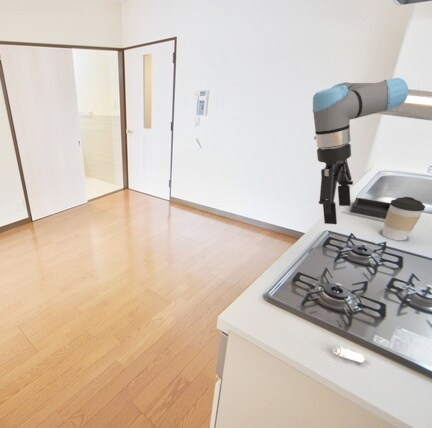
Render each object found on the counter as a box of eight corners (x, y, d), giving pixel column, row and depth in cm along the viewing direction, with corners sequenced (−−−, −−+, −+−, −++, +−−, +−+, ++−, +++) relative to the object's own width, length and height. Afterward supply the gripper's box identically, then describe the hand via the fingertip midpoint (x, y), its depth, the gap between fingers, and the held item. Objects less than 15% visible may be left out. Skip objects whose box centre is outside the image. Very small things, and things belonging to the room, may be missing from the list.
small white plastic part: (365, 373, 59) (370, 363, 58) (330, 357, 63) (334, 347, 62) (366, 361, 62) (370, 351, 60) (332, 346, 65) (336, 337, 64)
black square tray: (390, 209, 127) (392, 203, 126) (389, 219, 119) (392, 213, 118) (354, 203, 136) (356, 197, 134) (350, 212, 127) (353, 205, 126)
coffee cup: (410, 244, 101) (428, 206, 95) (377, 236, 107) (392, 201, 101) (410, 234, 107) (426, 198, 101) (378, 228, 113) (392, 193, 107)
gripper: (331, 136, 88) (335, 198, 94) (300, 160, 75) (308, 230, 81) (362, 132, 82) (365, 198, 88) (335, 157, 69) (340, 233, 75)
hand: (338, 214), depth 85 cm, fingers open, 13 cm apart
